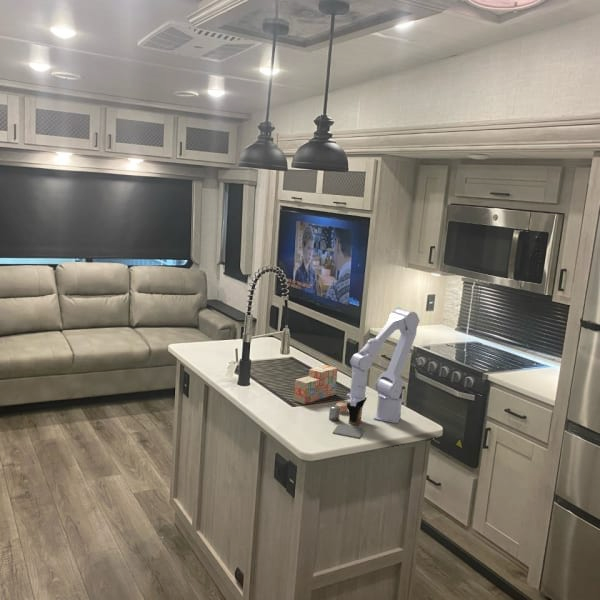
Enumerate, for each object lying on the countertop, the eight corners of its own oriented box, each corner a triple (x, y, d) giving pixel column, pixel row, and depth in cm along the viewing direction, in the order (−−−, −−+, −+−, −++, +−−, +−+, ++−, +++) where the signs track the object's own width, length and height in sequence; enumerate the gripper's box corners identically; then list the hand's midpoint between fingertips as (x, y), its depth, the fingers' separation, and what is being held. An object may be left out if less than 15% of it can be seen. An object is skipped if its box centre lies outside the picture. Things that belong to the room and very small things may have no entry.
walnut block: (360, 421, 232) (362, 407, 231) (358, 425, 229) (360, 410, 228) (350, 420, 234) (352, 405, 233) (348, 423, 230) (350, 408, 229)
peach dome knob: (348, 410, 244) (349, 403, 243) (346, 414, 239) (346, 407, 239) (337, 408, 245) (337, 401, 245) (334, 412, 241) (334, 405, 240)
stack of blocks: (304, 404, 247) (307, 376, 245) (293, 400, 251) (295, 372, 249) (335, 394, 263) (338, 367, 261) (324, 391, 267) (326, 364, 265)
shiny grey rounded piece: (340, 418, 234) (341, 406, 233) (337, 422, 230) (339, 409, 229) (330, 417, 235) (331, 404, 234) (327, 420, 231) (328, 408, 230)
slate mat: (365, 429, 225) (365, 428, 225) (359, 438, 216) (359, 437, 215) (339, 424, 228) (339, 423, 228) (332, 433, 218) (332, 432, 218)
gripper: (352, 377, 237) (349, 410, 239) (344, 387, 223) (340, 422, 225) (370, 380, 235) (366, 414, 237) (362, 391, 221) (359, 426, 223)
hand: (355, 418), depth 231 cm, fingers open, 7 cm apart
